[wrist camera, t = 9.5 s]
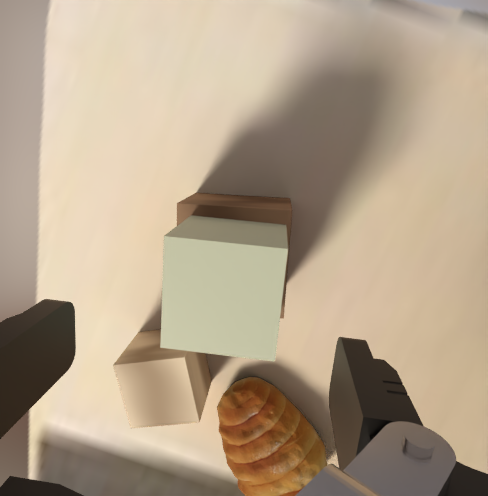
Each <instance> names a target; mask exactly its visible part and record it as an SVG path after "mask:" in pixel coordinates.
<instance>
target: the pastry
mask: <svg viewBox="0 0 488 496" xmlns="http://www.w3.org/2000/svg"><path fill="white" fill-rule="evenodd" d="M217 410H218V416H219V422H220V425H219V432H220V434H221V436H222V440H223V449H224V452H225V454H226V459H227V464H228V466H229V467H230V469H231V470H232V472H233V474H234V476H235V477H236V478H237V479H238V487H239V489H240V490H241V491H242V492H243V494H244V495H245V496H296V495H297V494H298V493H299V492H300V491H301V490H302V489H303V488H304V487H305V486H306V485H307V484H308V483H309V482H310V481H311V480H312V479H313V478H314V477H315V476H316V475H317V474H318V473H319V472H320V471H321V470H322V469H323V468H324V467H325V466H327V461H326V451H325V446H324V444H323V442H322V440H321V439H320V437H319V436H318V434H317V432H316V431H315V429H314V427H313V426H312V425H311V424H310V423H309V422H308V421H307V420H306V418H305V417H304V416H303V415H302V414H301V412H300V411H299V410H298V409H297V408H296V407H295V406H294V405H293V404H292V403H291V402H290V401H289V400H288V399H287V398H286V397H285V396H284V395H283V394H282V393H281V392H280V391H279V390H278V389H277V388H276V387H275V386H274V385H272V384H270V383H268V382H266V381H264V380H262V379H261V378H258V377H247V378H245V379H242V380H239V381H237V382H235V383H234V384H233V385H232V386H231V387H230V388H229V389H228V390H227V391H226V392H225V393H224V394H223V396H222V398H221V400H220V402H219V404H218V406H217Z"/></svg>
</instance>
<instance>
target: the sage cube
mask: <svg viewBox="0 0 488 496" xmlns="http://www.w3.org/2000/svg"><path fill="white" fill-rule="evenodd" d="M287 254H288V242H287V229H286V225H283V224H273V223H263V222H253V221H243V220H233V219H223V218H213V217H203V216H193V215H191V216H190V217H188V218H187V219H186V220H184V221H183V222H182V223H180V224H179V225H178V226H177V227H175V228H174V229H173V230H171V231H170V232H169V233H167V234H166V235H165V236H164V253H163V283H162V313H161V343H160V348H167V349H176V350H184V351H192V352H200V353H208V354H216V355H225V356H233V357H241V358H249V359H257V360H265V361H274V362H275V356H276V348H277V339H278V331H279V322H280V314H281V305H282V297H283V288H284V279H285V271H286V262H287Z"/></svg>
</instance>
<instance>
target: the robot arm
mask: <svg viewBox="0 0 488 496" xmlns="http://www.w3.org/2000/svg"><path fill="white" fill-rule="evenodd" d="M75 349H76V346H75V310H74V306H73V304H72V303H71V302H66V301H58V300H50V299H44V300H42V301H41V302H39V303H38V304H36V305H34V306H33V307H31V308H30V309H28V310H27V311H25V312H23V313H21V314H19V315H16V316H13V317H10V318H7V319H5V320H4V321H2V322H0V439H1V437H3V436H4V435H5V434H6V432H8V431H9V429H10V428H11V427H12V426H13V425H14V424H15V423H16V422H17V421H18V420H19V419H20V418H21V417H22V416H23V415H24V414H25V413H26V412H27V411H28V410H29V409H30V408H31V407H32V406H33V405H34V404H35V403H36V402H37V401H38V400H39V399H40V398H41V397H42V396H43V395H44V394H45V393H46V392H47V391H48V390H49V389H50V388H51V387H52V386H53V385H54V384H55V383H56V382H57V381H58V380H59V379H60V378H61V377H62V376H63V375H64V374H65V373H66V372H67V371H68V369H69V368H70V366H71V365H72V362H73V360H74V356H75ZM329 408H330V414H331V420H332V426H333V432H334V438H335V445H336V451H337V457H338V463H339V468H338V467H336V466H335V465H333V464H329V465H327V466H325V467H324V468H323V469H322V470H321V471H320V472H319V473H318V474H317V475H316V476H315V477H314V478H313V479H312V480H311V481H310V482H309V483H308V484H307V485H306V486H305V487H304V488H303V489H302V490H301V491H300V492H299V493H298V494H297V495H296V496H488V474H486V473H483V472H480V471H478V470H475V469H472V468H470V467H467V466H465V465H463V464H461V463H459V462H457V461H456V456H455V453H454V451H453V449H452V447H451V446H450V445H449V444H448V443H447V442H446V440H444V439H443V438H442V437H441V436H440V435H438V434H437V433H435V432H434V431H432V430H430V429H428V428H426V427H424V426H423V424H422V422H421V420H420V418H419V416H418V414H417V412H416V410H415V408H414V406H413V404H412V402H411V400H410V398H409V396H407V391H406V389H405V387H404V385H402V381H401V379H400V377H399V375H398V373H397V371H396V370H395V369H394V368H392V367H391V366H390V365H389V364H388V363H387V362H386V361H385V360H381V359H373V356H372V354H371V351H370V349H369V347H368V344H367V342H366V340H359V339H352V338H344V337H339V338H338V341H337V346H336V352H335V358H334V364H333V370H332V376H331V382H330V390H329ZM0 496H83V495H81V494H79V493H77V492H75V491H73V490H71V489H69V488H66V487H64V486H62V485H60V484H55V483H49V482H43V481H37V480H31V479H25V478H18V477H13V476H10V477H9V478H8V479H7V480H6V481H5V483H4V484H3V485H2V486H1V487H0Z"/></svg>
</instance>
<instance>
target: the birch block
mask: <svg viewBox="0 0 488 496" xmlns="http://www.w3.org/2000/svg"><path fill="white" fill-rule="evenodd" d="M160 343H161V329H160V330H152V331H144V332H138V334H137V335H136V336H135V337H134V339H133V340H132V341H131V343H130V344H129V345H128V347H127V348H126V349H125V351H124V352H123V353H122V354H121V356H120V357H119V358H118V360H117V361H116V362H115V364H114V365H113V366H114V370H115V373H116V377H117V381H118V384H119V388H120V391H121V395H122V399H123V402H124V406H125V409H126V413H127V417H128V420H129V424H130V428H141V427H152V426H163V425H175V424H186V423H197V422H200V419H201V415H202V412H203V408H204V405H205V402H206V398H207V395H208V392H209V388H210V385H211V376H210V372H209V367H208V362H207V358H206V353H200V352H192V351H184V350H176V349H167V348H160Z"/></svg>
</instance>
